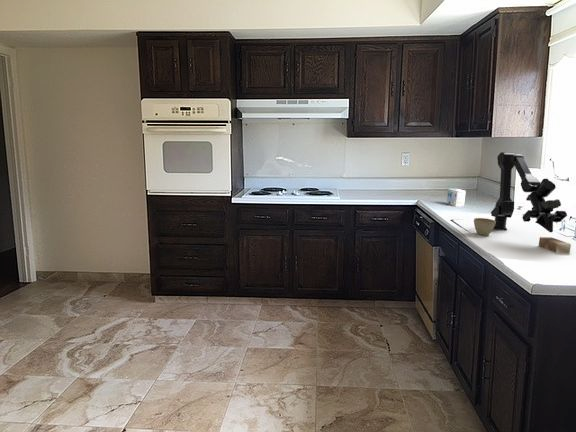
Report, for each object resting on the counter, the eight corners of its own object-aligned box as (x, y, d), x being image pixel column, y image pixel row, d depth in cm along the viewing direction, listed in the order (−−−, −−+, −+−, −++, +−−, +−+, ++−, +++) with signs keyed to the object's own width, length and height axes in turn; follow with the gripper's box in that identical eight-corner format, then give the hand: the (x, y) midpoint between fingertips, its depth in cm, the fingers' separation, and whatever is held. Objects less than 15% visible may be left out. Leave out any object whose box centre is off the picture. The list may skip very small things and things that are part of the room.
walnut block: (539, 237, 214) (558, 243, 202) (551, 237, 215) (571, 244, 203) (538, 245, 214) (556, 253, 203) (550, 245, 215) (569, 253, 204)
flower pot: (467, 232, 236) (469, 218, 234) (483, 231, 239) (485, 217, 238) (482, 237, 226) (484, 222, 225) (498, 236, 230) (500, 221, 229)
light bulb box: (446, 203, 324) (447, 188, 322) (454, 203, 326) (456, 188, 324) (455, 206, 314) (457, 190, 312) (464, 206, 316) (466, 190, 314)
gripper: (530, 192, 211) (542, 221, 202) (567, 193, 214) (582, 222, 205) (516, 206, 220) (528, 235, 212) (553, 207, 223) (566, 235, 214)
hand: (551, 231), depth 210 cm, fingers closed
